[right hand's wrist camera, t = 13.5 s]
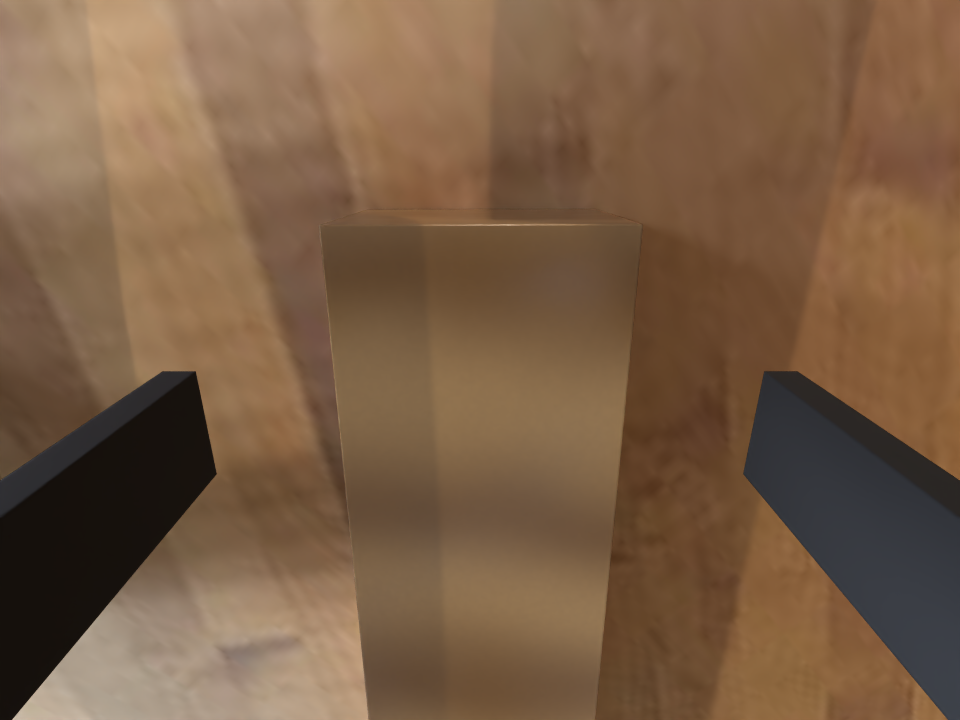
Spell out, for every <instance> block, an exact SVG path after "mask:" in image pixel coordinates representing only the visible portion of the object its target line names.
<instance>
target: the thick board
mask: <svg viewBox="0 0 960 720" xmlns="http://www.w3.org/2000/svg"><path fill="white" fill-rule="evenodd" d="M642 230H643V225H642V224H640V223H637V222H634V221H631V220H628V219H625V218H622V217H619V216H616V215H613V214H610V213H606V212H603V211H600V210H597V209H448V210H365V211H361V212H358V213H355V214H352V215H349V216H346V217H343V218H340V219H337V220H333V221H330V222H327V223H324V224H321V225H319V232H320V242H321V252H322V262H323V272H324V282H325V291H326V301H327V311H328V321H329V331H330V341H331V351H332V361H333V371H334V381H335V390H336V400H337V410H338V420H339V430H340V440H341V450H342V460H343V470H344V480H345V489H346V499H347V509H348V519H349V529H350V539H351V549H352V559H353V569H354V579H355V589H356V598H357V608H358V618H359V628H360V638H361V648H362V658H363V668H364V678H365V688H366V697H367V707H368V717H369V720H595V718H596V707H597V697H598V687H599V676H600V666H601V655H602V645H603V635H604V624H605V614H606V604H607V593H608V583H609V572H610V562H611V552H612V541H613V531H614V521H615V510H616V500H617V489H618V479H619V469H620V458H621V448H622V437H623V427H624V417H625V406H626V396H627V386H628V375H629V365H630V354H631V344H632V334H633V323H634V313H635V302H636V292H637V282H638V271H639V261H640V251H641V240H642Z"/></svg>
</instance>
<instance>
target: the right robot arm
mask: <svg viewBox="0 0 960 720" xmlns="http://www.w3.org/2000/svg"><path fill="white" fill-rule="evenodd" d="M216 474H217V473H216V468H215V463H214V458H213V453H212V449H211V444H210V439H209V434H208V429H207V424H206V419H205V414H204V409H203V405H202V400H201V395H200V390H199V385H198V380H197V375H196V371H162V372H161V373H159V374H158V375H157V376H155V377H154V378H152V379H151V380H149V381H148V382H146V383H145V384H143V385H142V386H140V387H139V388H137V389H136V390H134V391H133V392H131V393H130V394H128V395H127V396H125V397H124V398H122V399H121V400H119V401H118V402H116V403H115V404H113V405H112V406H110V407H109V408H107V409H106V410H104V411H103V412H101V413H100V414H98V415H97V416H96V417H94V418H93V419H91V420H90V421H88V422H87V423H85V424H84V425H82V426H81V427H79V428H78V429H76V430H75V431H73V432H72V433H70V434H69V435H67V436H66V437H64V438H63V439H61V440H60V441H58V442H57V443H55V444H54V445H52V446H51V447H49V448H48V449H46V450H45V451H43V452H42V453H40V454H39V455H38V456H36V457H35V458H33V459H32V460H30V461H29V462H27V463H26V464H24V465H23V466H21V467H20V468H18V469H17V470H15V471H14V472H12V473H11V474H9V475H8V476H6V477H5V478H3V479H2V480H0V720H12V719H13V718H14V717H15V715H16V714H17V713H18V712H19V711H20V709H21V708H22V707H23V706H24V705H25V703H26V702H27V701H28V700H29V699H30V697H31V696H32V695H33V694H34V693H35V691H36V690H37V689H38V688H39V687H40V685H41V684H42V683H43V682H44V681H45V679H46V678H47V677H48V676H49V675H50V673H51V672H52V671H53V670H54V669H55V667H56V666H57V665H58V664H59V663H60V661H61V660H62V659H63V658H64V657H65V655H66V654H67V653H68V652H69V651H70V649H71V648H72V647H73V646H74V645H75V643H76V642H77V641H78V640H79V639H80V637H81V636H82V635H83V634H84V633H85V631H86V630H87V629H88V628H89V627H90V625H91V624H92V623H93V622H94V621H95V619H96V618H97V617H98V616H99V615H100V613H101V612H102V611H103V610H104V609H105V607H106V606H107V605H108V604H109V603H110V601H111V600H112V599H113V598H114V597H115V595H116V594H117V593H118V592H119V591H120V589H121V588H122V587H123V586H124V585H125V583H126V582H127V581H128V580H129V579H130V577H131V576H132V575H133V574H134V573H135V571H136V570H137V569H138V568H139V567H140V565H141V564H142V563H143V562H144V561H145V559H146V558H147V557H148V556H149V555H150V553H151V552H152V551H153V550H154V549H155V547H156V546H157V545H158V544H159V543H160V541H161V540H162V539H163V538H164V537H165V535H166V534H167V533H168V532H169V531H170V529H171V528H172V527H173V526H174V525H175V523H176V522H177V521H178V520H179V519H180V517H181V516H182V515H183V514H184V513H185V511H186V510H187V509H188V508H189V507H190V505H191V504H192V503H193V502H194V501H195V499H196V498H197V497H198V496H199V495H200V493H201V492H202V491H203V490H204V489H205V487H206V486H207V485H208V484H209V483H210V481H211V480H212V479H213V478H214V477H215V475H216ZM743 474H744V475H745V477H746V478H747V479H748V480H749V481H750V483H751V484H752V485H753V486H754V487H755V489H756V490H757V491H758V492H759V493H760V495H761V496H762V497H763V498H764V499H765V501H766V502H767V503H768V504H769V505H770V507H771V508H772V509H773V510H774V511H775V513H776V514H777V515H778V516H779V517H780V519H781V520H782V521H783V522H784V523H785V525H786V526H787V527H788V528H789V529H790V531H791V532H792V533H793V534H794V535H795V537H796V538H797V539H798V540H799V541H800V543H801V544H802V545H803V546H804V547H805V549H806V550H807V551H808V552H809V553H810V555H811V556H812V557H813V558H814V559H815V561H816V562H817V563H818V564H819V565H820V567H821V568H822V569H823V570H824V571H825V573H826V574H827V575H828V576H829V577H830V579H831V580H832V581H833V582H834V583H835V585H836V586H837V587H838V588H839V589H840V591H841V592H842V593H843V594H844V595H845V597H846V598H847V599H848V600H849V601H850V603H851V604H852V605H853V606H854V607H855V609H856V610H857V611H858V612H859V613H860V615H861V616H862V617H863V618H864V619H865V621H866V622H867V623H868V624H869V625H870V627H871V628H872V629H873V630H874V631H875V633H876V634H877V635H878V636H879V637H880V639H881V640H882V641H883V642H884V643H885V645H886V646H887V647H888V648H889V649H890V651H891V652H892V653H893V654H894V655H895V657H896V658H897V659H898V660H899V661H900V663H901V664H902V665H903V666H904V667H905V669H906V670H907V671H908V672H909V673H910V675H911V676H912V677H913V678H914V679H915V681H916V682H917V683H918V684H919V685H920V687H921V688H922V689H923V690H924V691H925V693H926V694H927V695H928V696H929V697H930V699H931V700H932V701H933V702H934V703H935V705H936V706H937V707H938V708H939V709H940V711H941V712H942V713H943V714H944V715H945V717H946V718H947V719H948V720H960V480H958V479H957V478H955V477H954V476H952V475H951V474H949V473H948V472H946V471H945V470H943V469H942V468H940V467H939V466H937V465H936V464H934V463H933V462H931V461H930V460H928V459H927V458H925V457H924V456H922V455H921V454H920V453H918V452H917V451H915V450H914V449H912V448H911V447H909V446H908V445H906V444H905V443H903V442H902V441H900V440H899V439H897V438H896V437H894V436H893V435H891V434H890V433H888V432H887V431H885V430H884V429H882V428H881V427H879V426H878V425H876V424H875V423H873V422H872V421H870V420H869V419H867V418H866V417H864V416H863V415H862V414H860V413H859V412H857V411H856V410H854V409H853V408H851V407H850V406H848V405H847V404H845V403H844V402H842V401H841V400H839V399H838V398H836V397H835V396H833V395H832V394H830V393H829V392H827V391H826V390H824V389H823V388H821V387H820V386H818V385H817V384H815V383H814V382H812V381H811V380H809V379H808V378H806V377H805V376H803V375H802V374H801V373H799V372H798V371H764V375H763V380H762V385H761V390H760V395H759V400H758V405H757V409H756V414H755V419H754V424H753V429H752V434H751V439H750V444H749V449H748V453H747V458H746V463H745V468H744V473H743Z"/></svg>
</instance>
